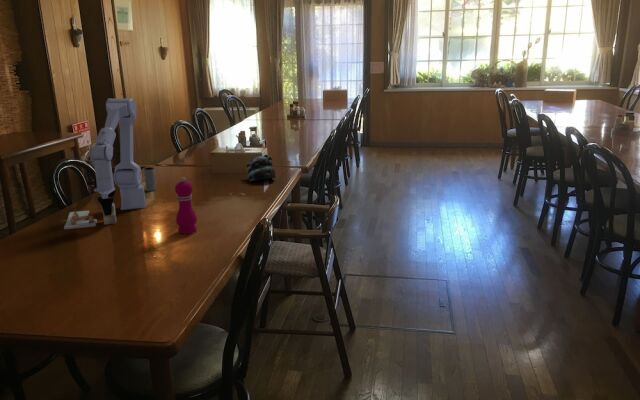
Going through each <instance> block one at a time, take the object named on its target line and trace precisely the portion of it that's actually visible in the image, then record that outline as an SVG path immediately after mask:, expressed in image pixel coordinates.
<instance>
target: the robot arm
mask: <svg viewBox="0 0 640 400" xmlns="http://www.w3.org/2000/svg"><path fill="white" fill-rule="evenodd" d="M105 109H106V112H107V115H106V119H105V123H104V127H102V128H101V129H100V131H99V132H98V135H97V137H96V140H95V144H93V145H92V146H90V148H89V153H88V154H89V158H90V160H91V163H92V165H93V166H94V173H95V174H94V175H95V180H96V188H94V189H93V191H94V192H95V193H98V194H100V196H97V197H96V198H97V201H98V203H99V204H100V205H101V209H102V208H103V211H104V214H105V216H107V215H111V214H112V203H114V199H115V193H116V191H117V189H116V187H115V185H117V187H118V188H119V191H120V192H119V193H120V199H121V205H120V210H121V211H125V210H134V209H135V210H137V209H145V208H146V203H147V198H146V197H145V195H146V194H145V189H144V188H145V187H144V184H142V181H143V174H142V169H141V166H140V165H139V164H137V163H136V162H134V161H135V160H134V159H135V158H134V121H135V120H136V119H137V104H136V101H135V100H134V99H133V98H132V97H130V98H109V97H108V98H107V100H106V103H105ZM118 124H119V138H120V139H119V143H120V144H119V145H120V146H119V147H120V149H119V150H120V151H119V152H120V154H119V155H120V162H119V163H118V164H117V165H115V166H114V173H113V169H112V161H111V160H112V159H113V156H114V146H113V145H114V143H115V139H116V137H117V134H116V131H115V130H116V129H117V126H118ZM103 211H102V212H103Z"/></svg>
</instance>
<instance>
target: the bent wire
mask: <svg viewBox="0 0 640 400" xmlns="http://www.w3.org/2000/svg"><path fill="white" fill-rule="evenodd" d="M73 212H74V213H73V216H72V218H71V224H72V225H75V224H77V222H76V220H82V219H85V220H89V223H93V222H94V218H95V217H94V216H93V215H88V216H80V217H79V216H78V213H77V212H78V211H73Z"/></svg>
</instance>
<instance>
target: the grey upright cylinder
mask: <svg viewBox="0 0 640 400" xmlns="http://www.w3.org/2000/svg"><path fill="white" fill-rule="evenodd" d="M143 173H144V183H145V190H146V192H155V191H157V182H156V173H155V167H152V166H151V167H149V166H148V167H144V168H143Z"/></svg>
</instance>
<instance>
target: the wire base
mask: <svg viewBox="0 0 640 400" xmlns="http://www.w3.org/2000/svg"><path fill="white" fill-rule="evenodd" d="M76 222H77V224H75V225H72V224H71V218H68V217H67V220H66V223H65V224H64V227H63V230H72V229H81V228H83V229H84V228H92V227H96V226H97V222H98V219H97V218H95V219H94V222H93V223H89V219H82V220H76Z"/></svg>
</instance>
